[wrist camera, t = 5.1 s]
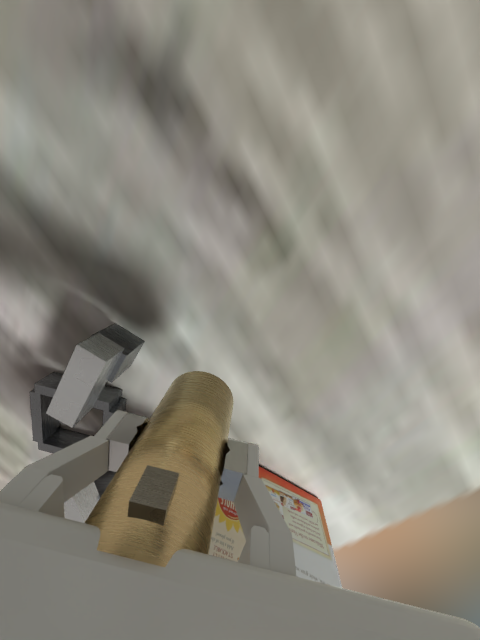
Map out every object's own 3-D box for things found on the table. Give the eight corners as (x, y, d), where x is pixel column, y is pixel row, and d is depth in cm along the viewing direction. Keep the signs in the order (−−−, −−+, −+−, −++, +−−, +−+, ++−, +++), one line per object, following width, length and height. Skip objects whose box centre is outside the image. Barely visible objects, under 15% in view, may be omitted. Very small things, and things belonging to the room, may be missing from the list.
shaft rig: (46, 302, 20) (-23, 319, 15) (146, 327, 20) (109, 352, 15) (52, 478, 27) (7, 529, 22) (126, 497, 27) (97, 552, 22)
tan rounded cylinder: (174, 355, 13) (49, 518, 5) (242, 372, 13) (217, 560, 5) (164, 424, 14) (58, 622, 7) (223, 439, 14) (184, 654, 7)
